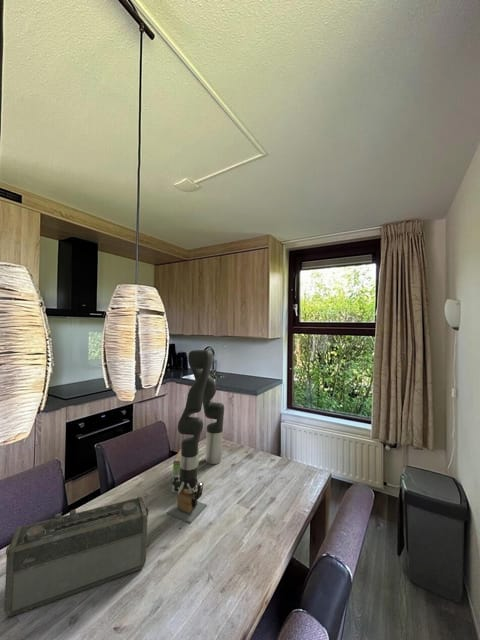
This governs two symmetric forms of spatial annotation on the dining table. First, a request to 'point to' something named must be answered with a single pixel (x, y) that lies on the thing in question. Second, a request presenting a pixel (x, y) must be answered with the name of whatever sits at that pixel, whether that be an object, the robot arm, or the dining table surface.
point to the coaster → (184, 515)
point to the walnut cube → (185, 501)
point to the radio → (74, 553)
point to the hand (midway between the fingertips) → (187, 504)
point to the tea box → (177, 468)
